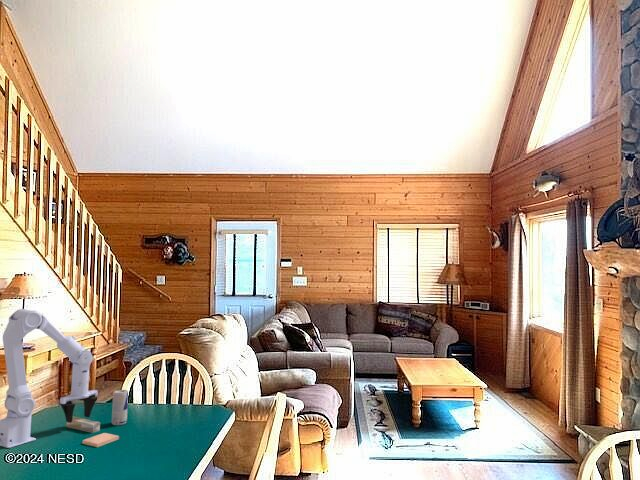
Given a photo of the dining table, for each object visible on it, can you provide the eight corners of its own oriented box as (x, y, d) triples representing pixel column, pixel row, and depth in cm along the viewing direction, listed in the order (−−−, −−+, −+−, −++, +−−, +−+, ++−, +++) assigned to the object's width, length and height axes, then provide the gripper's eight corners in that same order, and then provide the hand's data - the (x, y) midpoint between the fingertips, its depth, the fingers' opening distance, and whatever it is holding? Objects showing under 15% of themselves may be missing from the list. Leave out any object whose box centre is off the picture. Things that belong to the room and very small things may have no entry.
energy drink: (129, 421, 191) (130, 390, 192) (122, 425, 185) (123, 393, 186) (116, 420, 191) (117, 389, 192) (108, 425, 186) (110, 392, 187)
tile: (82, 445, 166) (97, 448, 163) (82, 440, 166) (97, 443, 163) (104, 437, 174) (118, 440, 171) (104, 432, 174) (119, 435, 171)
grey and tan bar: (92, 433, 177) (93, 424, 177) (66, 426, 183) (66, 418, 183) (99, 430, 180) (100, 422, 180) (73, 424, 186) (73, 416, 186)
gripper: (70, 387, 175) (68, 426, 174) (104, 379, 188) (102, 416, 187) (56, 384, 178) (54, 423, 177) (91, 377, 191) (89, 413, 190)
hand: (78, 419), depth 183 cm, fingers open, 7 cm apart
